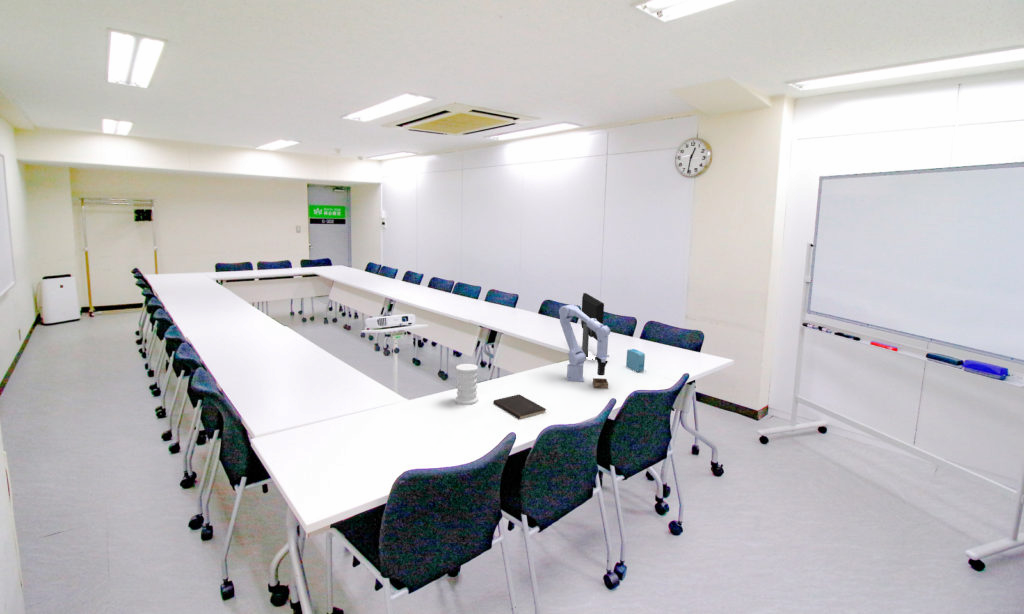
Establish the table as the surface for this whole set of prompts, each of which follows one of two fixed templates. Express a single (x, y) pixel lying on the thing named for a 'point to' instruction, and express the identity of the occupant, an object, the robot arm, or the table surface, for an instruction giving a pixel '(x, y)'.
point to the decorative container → (466, 384)
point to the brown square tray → (600, 383)
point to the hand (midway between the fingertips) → (601, 371)
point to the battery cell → (600, 372)
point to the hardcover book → (519, 406)
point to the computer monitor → (592, 310)
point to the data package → (635, 360)
